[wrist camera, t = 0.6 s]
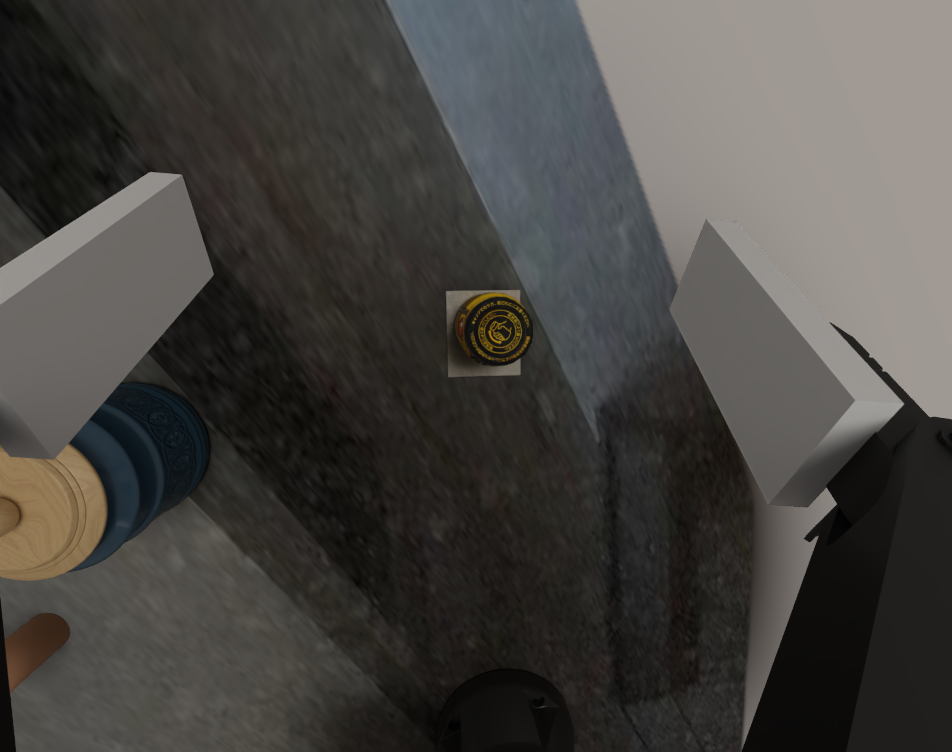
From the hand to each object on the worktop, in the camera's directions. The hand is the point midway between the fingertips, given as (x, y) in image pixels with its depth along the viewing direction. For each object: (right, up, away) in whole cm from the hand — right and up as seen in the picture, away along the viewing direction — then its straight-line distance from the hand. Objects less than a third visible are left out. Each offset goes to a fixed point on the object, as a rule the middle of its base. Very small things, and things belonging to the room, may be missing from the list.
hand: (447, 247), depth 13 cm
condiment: (+2, +1, +35) cm, 35 cm away
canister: (-32, -10, +35) cm, 48 cm away
